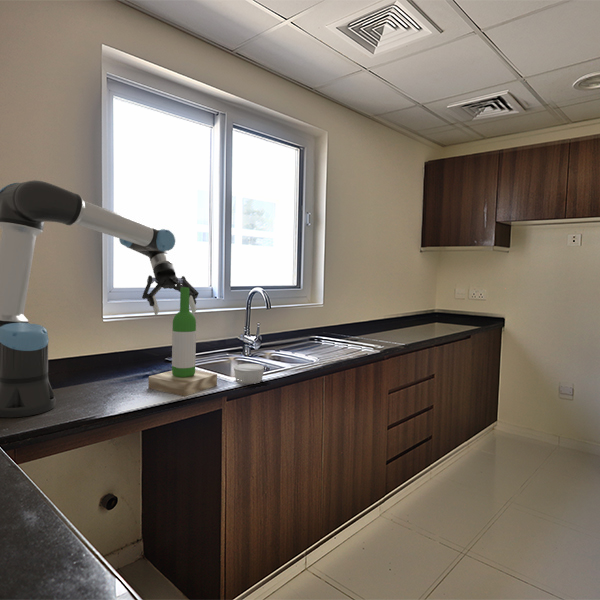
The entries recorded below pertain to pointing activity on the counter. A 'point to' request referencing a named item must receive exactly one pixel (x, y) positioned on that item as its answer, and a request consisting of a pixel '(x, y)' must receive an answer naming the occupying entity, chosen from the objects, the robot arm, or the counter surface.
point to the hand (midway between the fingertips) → (176, 312)
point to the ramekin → (249, 373)
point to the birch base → (182, 382)
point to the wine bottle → (184, 338)
